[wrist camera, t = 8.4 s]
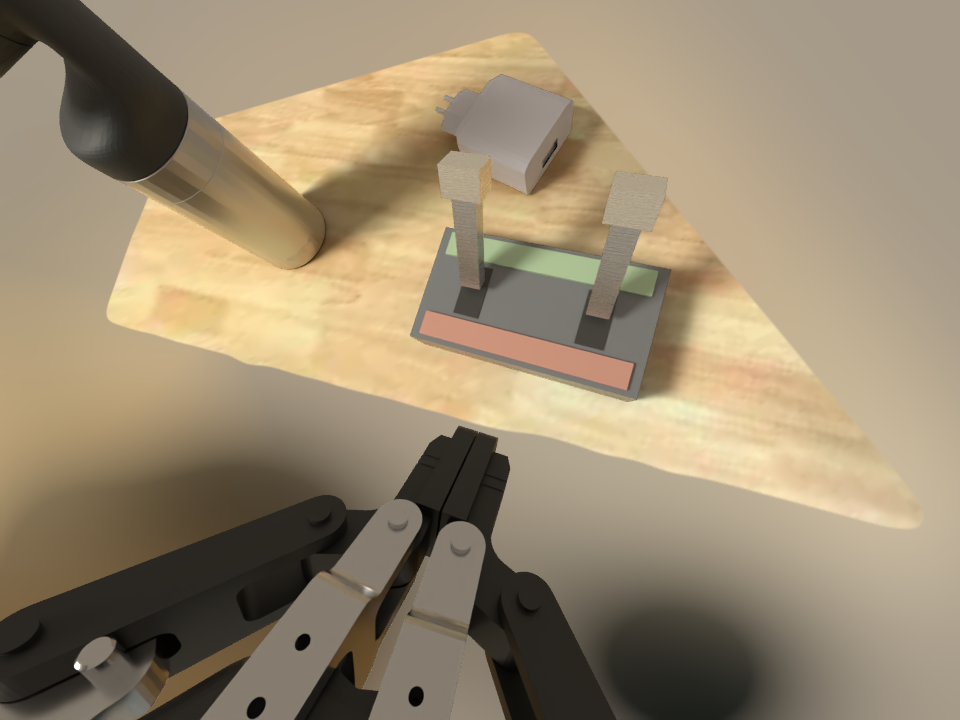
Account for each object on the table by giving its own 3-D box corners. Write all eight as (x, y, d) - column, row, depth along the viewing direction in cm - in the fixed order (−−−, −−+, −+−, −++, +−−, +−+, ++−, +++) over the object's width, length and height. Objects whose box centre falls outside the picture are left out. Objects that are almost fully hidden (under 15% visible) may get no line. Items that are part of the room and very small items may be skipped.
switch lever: (615, 325, 30) (665, 195, 21) (577, 316, 31) (610, 188, 22) (619, 307, 31) (667, 177, 22) (582, 298, 32) (616, 171, 23)
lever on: (483, 294, 33) (479, 170, 24) (452, 287, 34) (437, 164, 25) (492, 278, 34) (491, 155, 25) (462, 272, 35) (451, 150, 26)
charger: (466, 90, 44) (572, 132, 40) (426, 150, 44) (528, 198, 40) (456, 51, 39) (574, 94, 35) (411, 119, 39) (524, 170, 35)
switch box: (627, 401, 34) (637, 399, 30) (424, 343, 39) (408, 334, 35) (658, 285, 35) (672, 268, 31) (456, 245, 40) (445, 225, 36)
